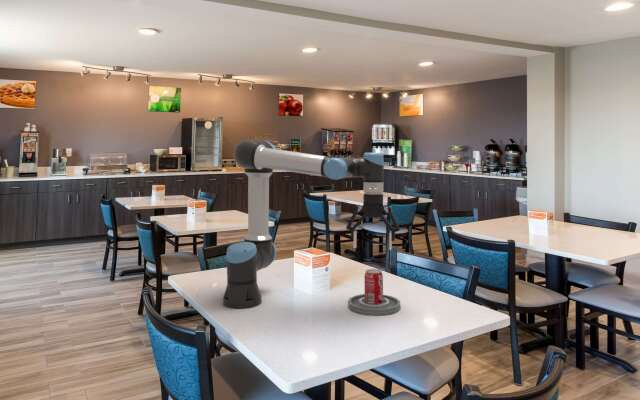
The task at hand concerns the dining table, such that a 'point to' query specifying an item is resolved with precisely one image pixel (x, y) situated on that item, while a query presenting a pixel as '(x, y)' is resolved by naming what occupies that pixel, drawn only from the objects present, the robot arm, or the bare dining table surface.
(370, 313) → the tray
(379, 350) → the dining table surface
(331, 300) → the dining table surface
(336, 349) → the dining table surface
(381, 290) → the soda can
